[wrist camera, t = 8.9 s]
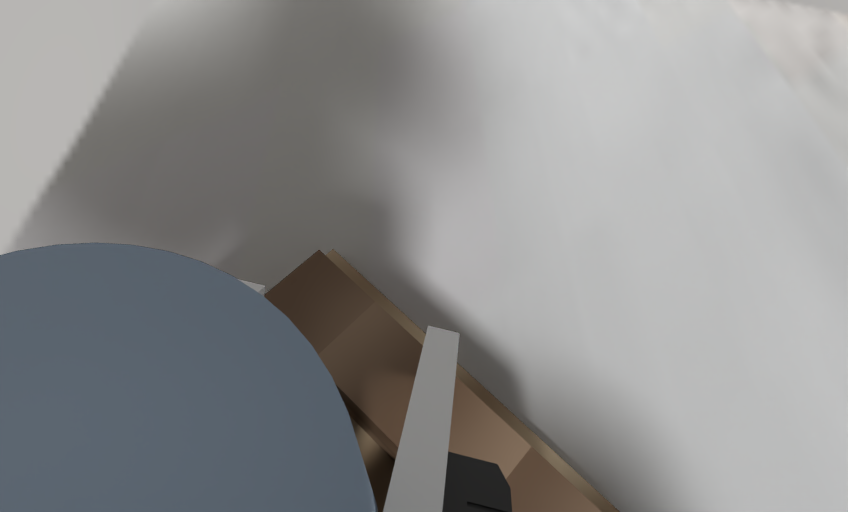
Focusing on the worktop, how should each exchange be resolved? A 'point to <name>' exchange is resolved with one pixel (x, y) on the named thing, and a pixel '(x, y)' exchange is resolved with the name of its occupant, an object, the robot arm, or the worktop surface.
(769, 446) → the worktop surface
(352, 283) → the socket block
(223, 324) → the dowel
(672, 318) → the worktop surface
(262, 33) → the worktop surface
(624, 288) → the worktop surface
